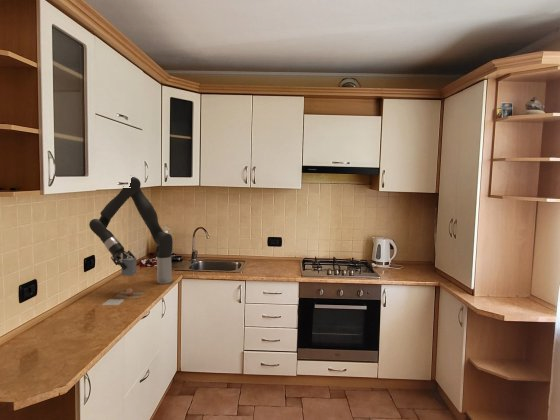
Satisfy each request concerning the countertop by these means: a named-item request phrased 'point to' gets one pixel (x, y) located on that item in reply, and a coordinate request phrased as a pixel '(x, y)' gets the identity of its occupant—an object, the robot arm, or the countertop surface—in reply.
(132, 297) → the walnut board
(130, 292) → the pink rounded lump
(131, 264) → the grey upright block
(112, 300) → the rubber mat
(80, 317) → the countertop surface
